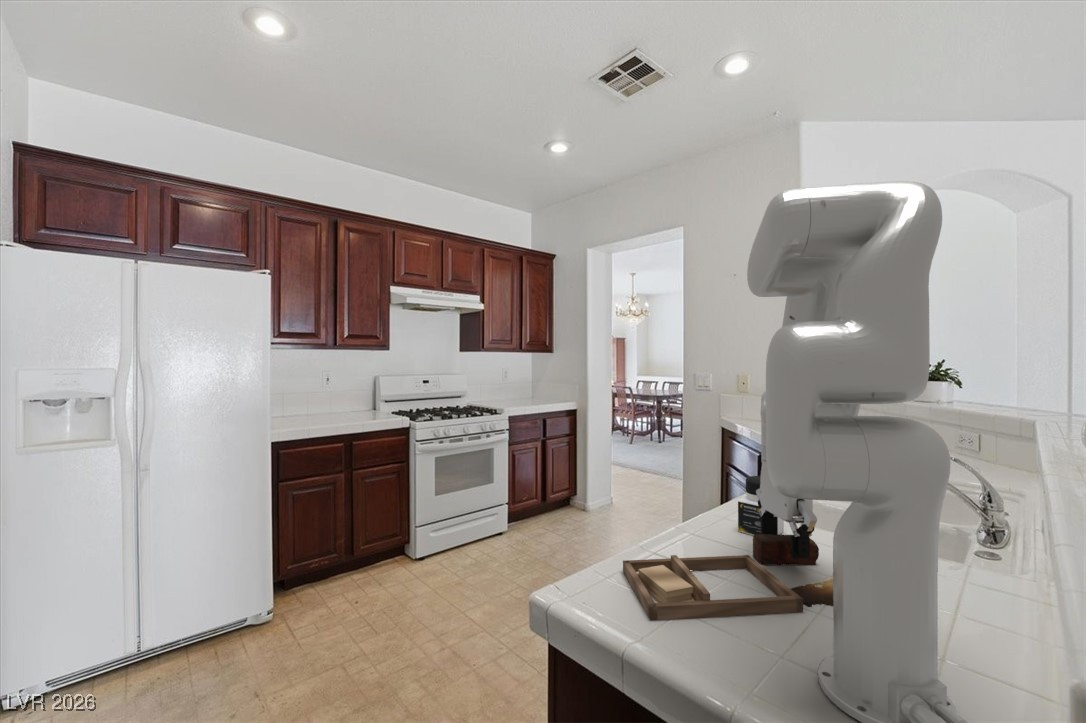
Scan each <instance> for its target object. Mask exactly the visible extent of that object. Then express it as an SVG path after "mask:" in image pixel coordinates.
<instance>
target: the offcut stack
mask: <svg viewBox="0 0 1086 723" xmlns="http://www.w3.org/2000/svg"><path fill="white" fill-rule="evenodd" d="M636 573H637V575H638V577H639V578H640V580H641V581H642V583H643V585H644V586H645V588H646V589H647V591H648V593H649V594H650V596H651V597H652V599H653V600H655V601H656V602H657V603H666V602H685V601H695V600H694V599H693V598H692V597H691V593H693V586H692V585H690V584H689V583H687V582H686V581H685V580H683V579H682V578H680V577H679V576H678V575H676V574H675V573H673V572H672V571H671V570H669V569H668V568H666V567H665V566H664V565H659V566H654V567H648V568H642V569H638V572H636Z"/></svg>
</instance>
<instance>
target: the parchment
mask: <svg viewBox="0 0 1086 723" xmlns="http://www.w3.org/2000/svg"><path fill="white" fill-rule="evenodd" d="M818 585H819V586H818ZM790 589H791V590H793V591H794V592H795V593H796V594H798V595H799V596H800V597H801V598H803V604H805V605H806V606H807V607H808V608H812V607H813V606H816V605H819V606H822V605H824V606H829V607H833V575H832V576H831V575H830V576H827V577H825V579H824V580H823V581H821V582H816V583H808V584H807V583H806V584H805V585H798V586H795V587H790Z"/></svg>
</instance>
